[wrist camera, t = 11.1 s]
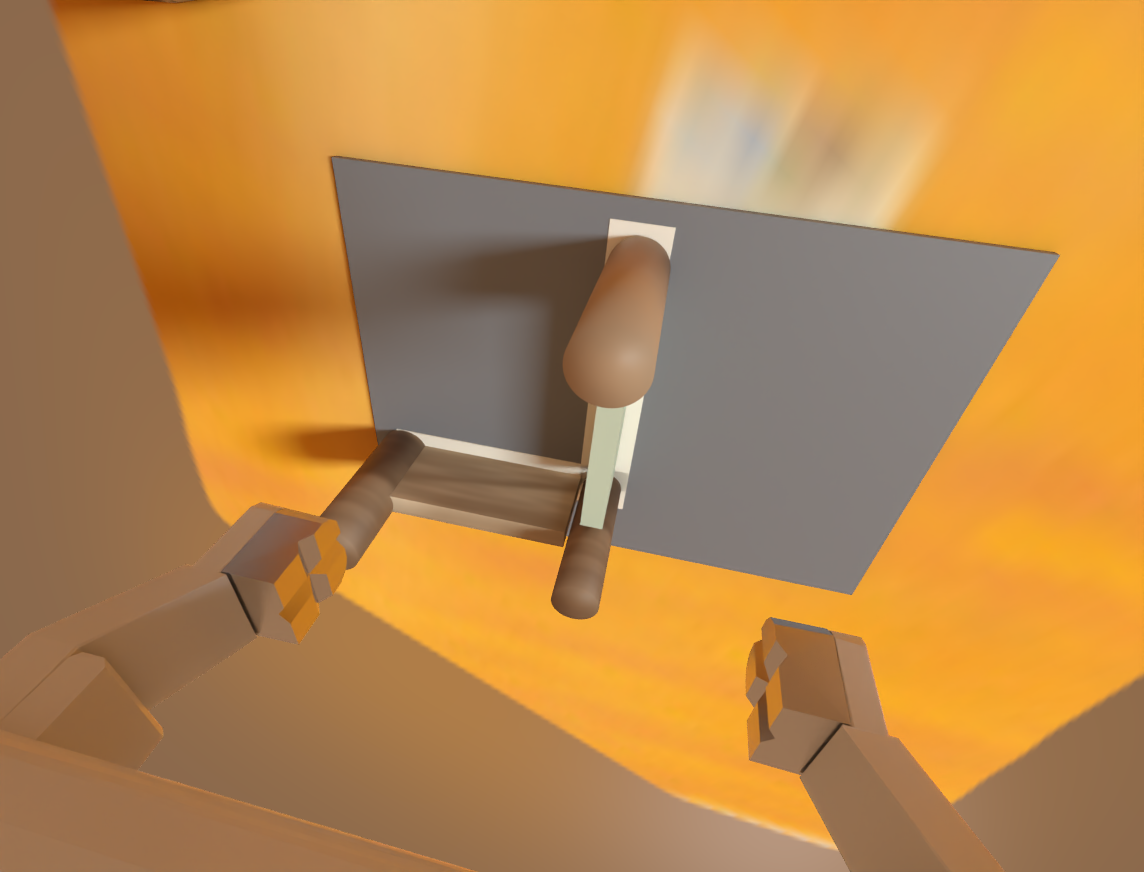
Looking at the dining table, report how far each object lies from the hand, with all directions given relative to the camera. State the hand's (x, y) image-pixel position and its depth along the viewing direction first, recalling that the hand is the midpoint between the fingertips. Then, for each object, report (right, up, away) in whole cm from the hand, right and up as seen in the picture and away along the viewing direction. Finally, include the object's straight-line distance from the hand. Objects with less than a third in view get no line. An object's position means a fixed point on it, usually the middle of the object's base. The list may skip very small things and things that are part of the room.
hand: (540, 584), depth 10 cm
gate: (+3, +6, +19) cm, 20 cm away
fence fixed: (-4, +1, +25) cm, 25 cm away
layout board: (+4, +4, +21) cm, 21 cm away
